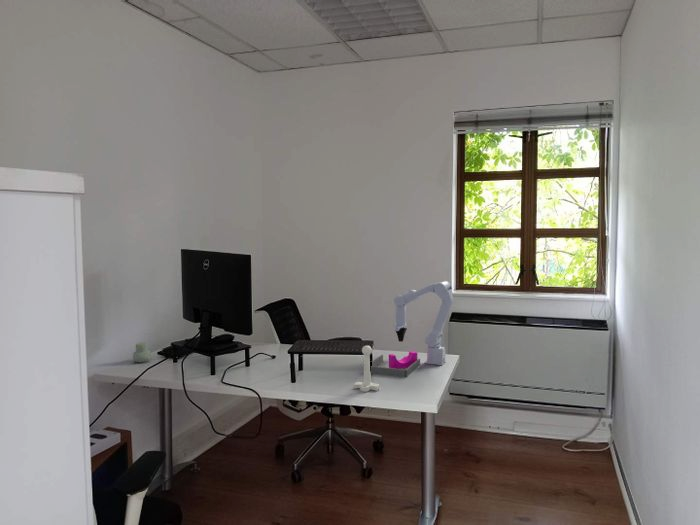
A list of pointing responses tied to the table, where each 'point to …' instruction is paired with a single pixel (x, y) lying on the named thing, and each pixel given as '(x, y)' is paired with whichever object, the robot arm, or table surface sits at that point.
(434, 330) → the robot arm
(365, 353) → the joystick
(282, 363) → the table surface
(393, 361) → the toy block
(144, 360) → the air freshener
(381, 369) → the grey tray
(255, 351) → the table surface
